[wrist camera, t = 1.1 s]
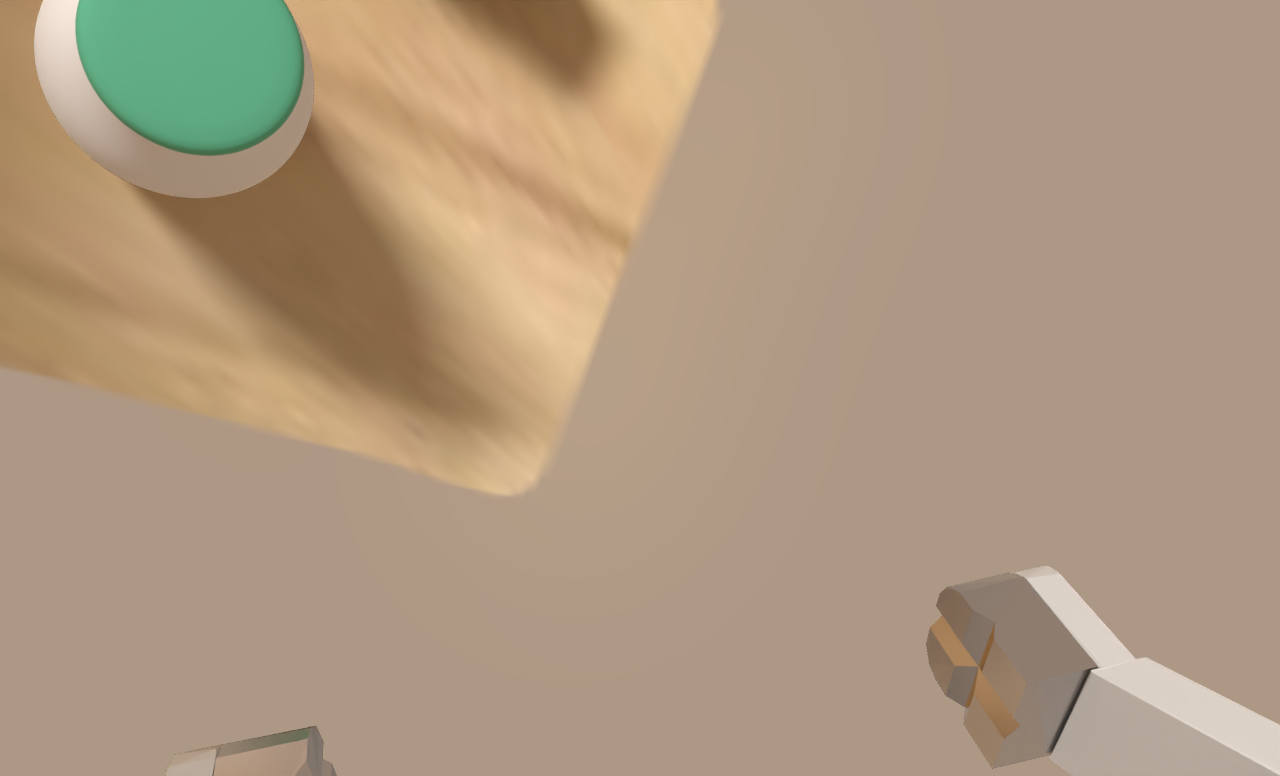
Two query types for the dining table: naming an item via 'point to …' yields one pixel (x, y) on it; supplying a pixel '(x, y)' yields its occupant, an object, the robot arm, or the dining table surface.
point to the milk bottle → (178, 88)
